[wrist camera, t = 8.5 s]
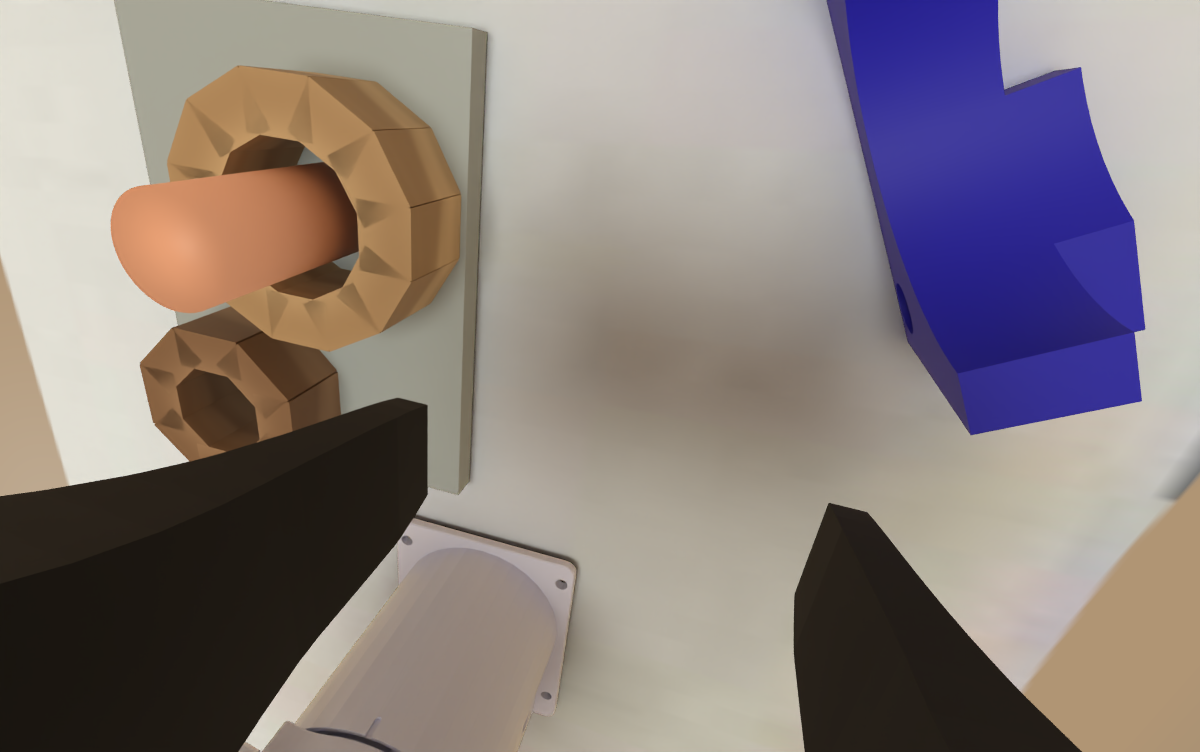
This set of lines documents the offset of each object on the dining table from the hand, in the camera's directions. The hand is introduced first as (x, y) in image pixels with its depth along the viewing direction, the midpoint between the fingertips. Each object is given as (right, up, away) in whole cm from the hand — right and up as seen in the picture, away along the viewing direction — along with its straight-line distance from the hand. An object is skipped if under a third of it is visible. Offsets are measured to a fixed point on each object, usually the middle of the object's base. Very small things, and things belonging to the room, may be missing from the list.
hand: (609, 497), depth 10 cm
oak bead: (-8, +8, +9) cm, 14 cm away
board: (-10, +6, +11) cm, 16 cm away
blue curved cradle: (+9, +9, +5) cm, 14 cm away
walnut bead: (-13, +2, +13) cm, 18 cm away
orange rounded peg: (-8, +8, +9) cm, 14 cm away
